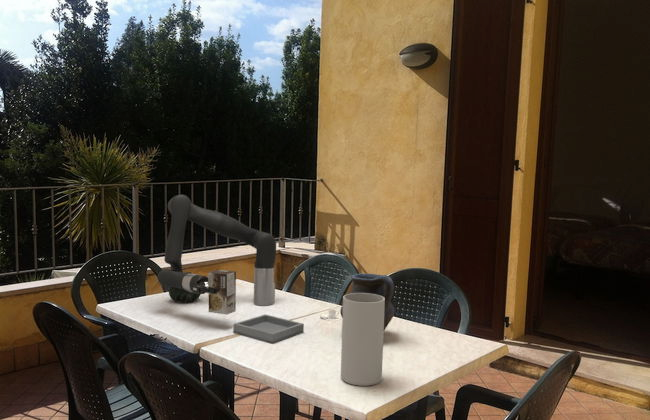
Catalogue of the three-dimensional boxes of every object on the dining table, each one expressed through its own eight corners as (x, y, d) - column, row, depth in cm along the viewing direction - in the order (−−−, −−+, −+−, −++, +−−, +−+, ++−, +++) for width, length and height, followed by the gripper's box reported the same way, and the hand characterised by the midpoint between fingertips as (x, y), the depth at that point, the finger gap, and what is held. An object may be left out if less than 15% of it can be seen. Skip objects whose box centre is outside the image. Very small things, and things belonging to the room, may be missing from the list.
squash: (173, 285, 259) (170, 265, 248) (204, 286, 261) (203, 267, 250) (168, 309, 249) (165, 290, 238) (200, 311, 251) (199, 292, 240)
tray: (265, 322, 218) (265, 314, 218) (303, 332, 207) (303, 323, 206) (233, 332, 204) (233, 323, 204) (272, 343, 192) (272, 334, 192)
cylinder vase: (334, 382, 158) (337, 299, 157) (348, 368, 170) (350, 291, 168) (375, 389, 154) (378, 304, 152) (386, 374, 166) (389, 295, 164)
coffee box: (236, 311, 212) (236, 271, 210) (226, 315, 206) (227, 274, 204) (217, 308, 215) (217, 268, 214) (207, 312, 210) (207, 271, 208)
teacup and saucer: (318, 320, 226) (318, 310, 226) (325, 315, 234) (325, 306, 234) (337, 322, 223) (337, 313, 223) (343, 318, 231) (344, 308, 230)
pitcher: (364, 325, 219) (366, 265, 217) (407, 338, 203) (410, 273, 201) (329, 335, 204) (331, 270, 202) (372, 350, 189) (374, 280, 187)
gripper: (181, 277, 213) (210, 283, 203) (209, 271, 224) (237, 277, 215) (182, 295, 213) (210, 302, 204) (209, 289, 225) (237, 295, 215)
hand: (223, 289), depth 209 cm, fingers closed on coffee box, 7 cm apart
